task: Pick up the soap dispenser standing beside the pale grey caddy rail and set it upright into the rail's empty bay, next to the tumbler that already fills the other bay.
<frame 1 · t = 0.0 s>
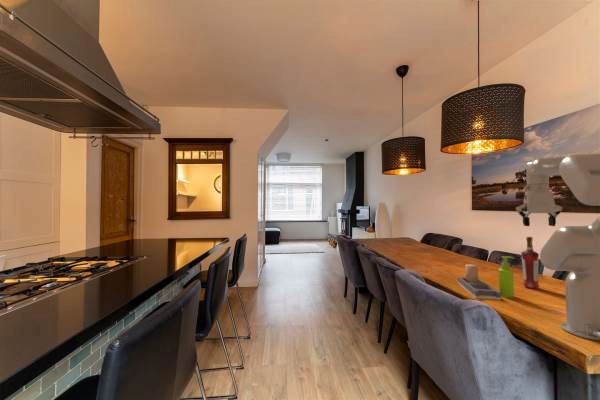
hand: (539, 225, 119), 37 cm above the table, tool pointing down, fingers open, 9 cm apart
soap dispenser: (507, 296, 134), on the table
caddy rail: (477, 290, 142), on the table
liquor: (531, 287, 146), on the table
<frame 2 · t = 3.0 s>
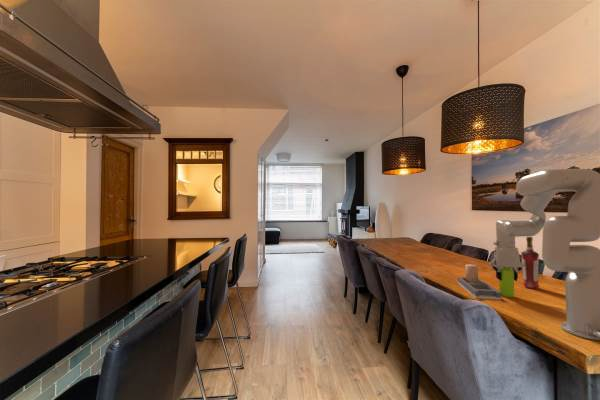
hand: (506, 279, 134), 8 cm above the table, tool pointing down, fingers closed on soap dispenser, 6 cm apart
soap dispenser: (507, 295, 134), on the table, touching gripper
everything else where it was.
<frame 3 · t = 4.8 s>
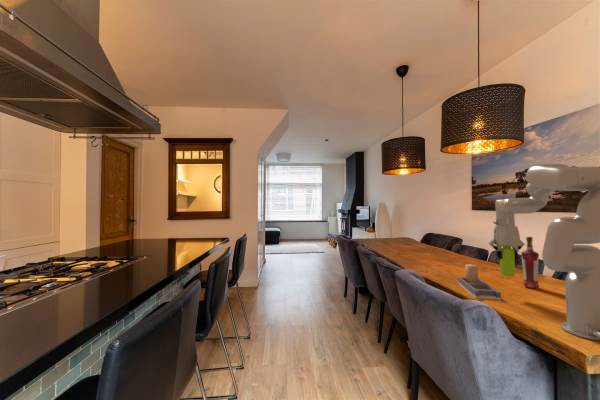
hand: (507, 258, 134), 19 cm above the table, tool pointing down, fingers closed on soap dispenser, 6 cm apart
soap dispenser: (508, 275, 133), point 11 cm above the table, touching gripper
everything else where it was.
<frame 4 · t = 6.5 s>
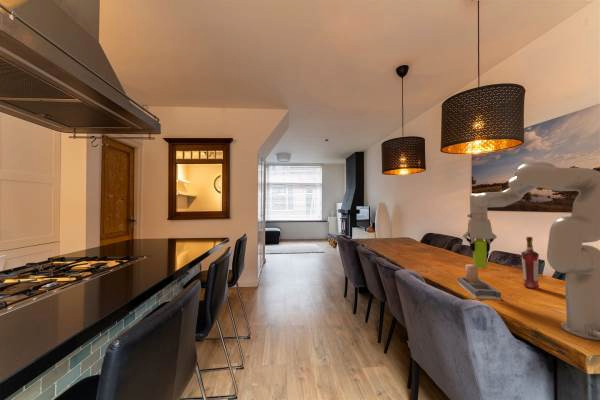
hand: (479, 250, 138), 22 cm above the table, tool pointing down, fingers closed on soap dispenser, 6 cm apart
soap dispenser: (480, 266, 138), point 14 cm above the table, touching gripper
everything else where it was.
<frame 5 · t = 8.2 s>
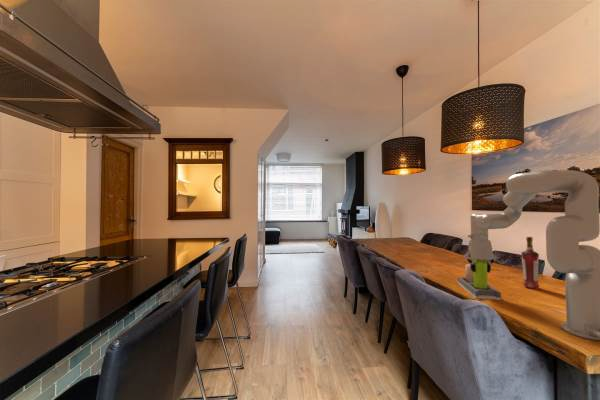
hand: (480, 271, 138), 12 cm above the table, tool pointing down, fingers closed on soap dispenser, 6 cm apart
soap dispenser: (481, 287, 138), point 3 cm above the table, touching gripper
everything else where it was.
when the fingers open (10 cm above the table, at t = 9.5 s): soap dispenser stays where it is, resting on caddy rail.
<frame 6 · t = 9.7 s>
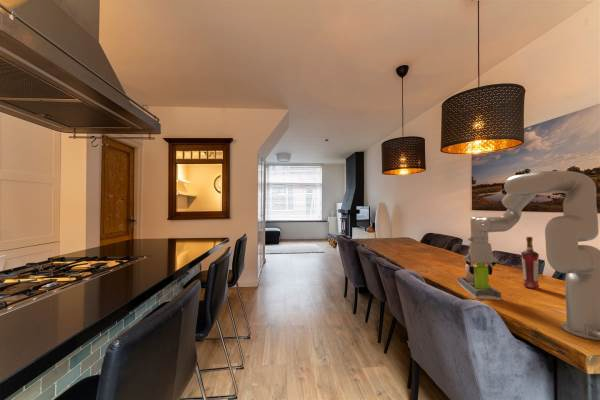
hand: (480, 273, 138), 10 cm above the table, tool pointing down, fingers open, 7 cm apart
soap dispenser: (483, 292, 137), point 1 cm above the table, touching caddy rail
everything else where it was.
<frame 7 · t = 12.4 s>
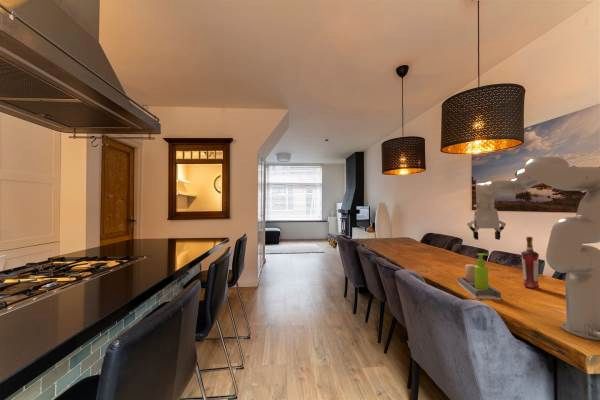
hand: (486, 239, 136), 29 cm above the table, tool pointing down, fingers open, 9 cm apart
nothing on the table moved.
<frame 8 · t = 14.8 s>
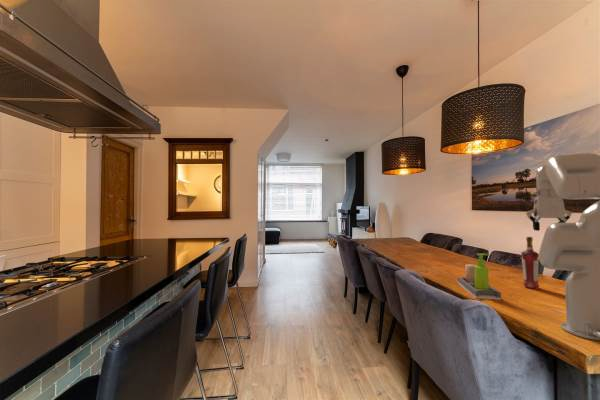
hand: (549, 230, 122), 34 cm above the table, tool pointing down, fingers open, 9 cm apart
nothing on the table moved.
at the end: soap dispenser 0.8 cm from the target spot on the caddy rail, point 0.8 cm above the caddy rail's base; soap dispenser tilted 0°; the gripper is holding nothing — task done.
